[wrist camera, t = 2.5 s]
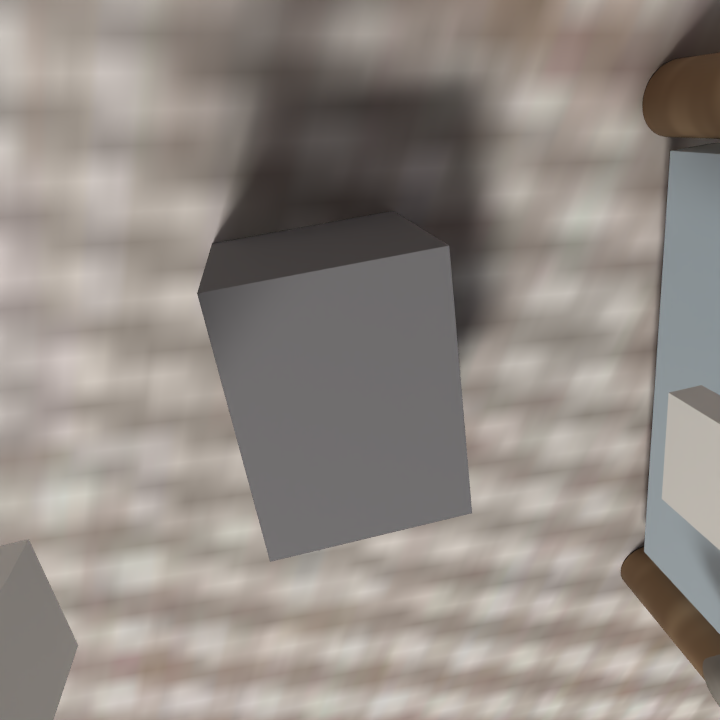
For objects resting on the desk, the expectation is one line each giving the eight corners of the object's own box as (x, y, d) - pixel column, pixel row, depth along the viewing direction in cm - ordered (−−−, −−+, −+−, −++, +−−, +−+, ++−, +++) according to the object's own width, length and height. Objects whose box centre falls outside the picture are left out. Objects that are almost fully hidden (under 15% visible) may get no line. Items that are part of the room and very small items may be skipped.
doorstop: (212, 243, 19) (196, 293, 13) (392, 210, 19) (449, 245, 14) (264, 451, 22) (270, 561, 16) (417, 417, 22) (472, 513, 17)
